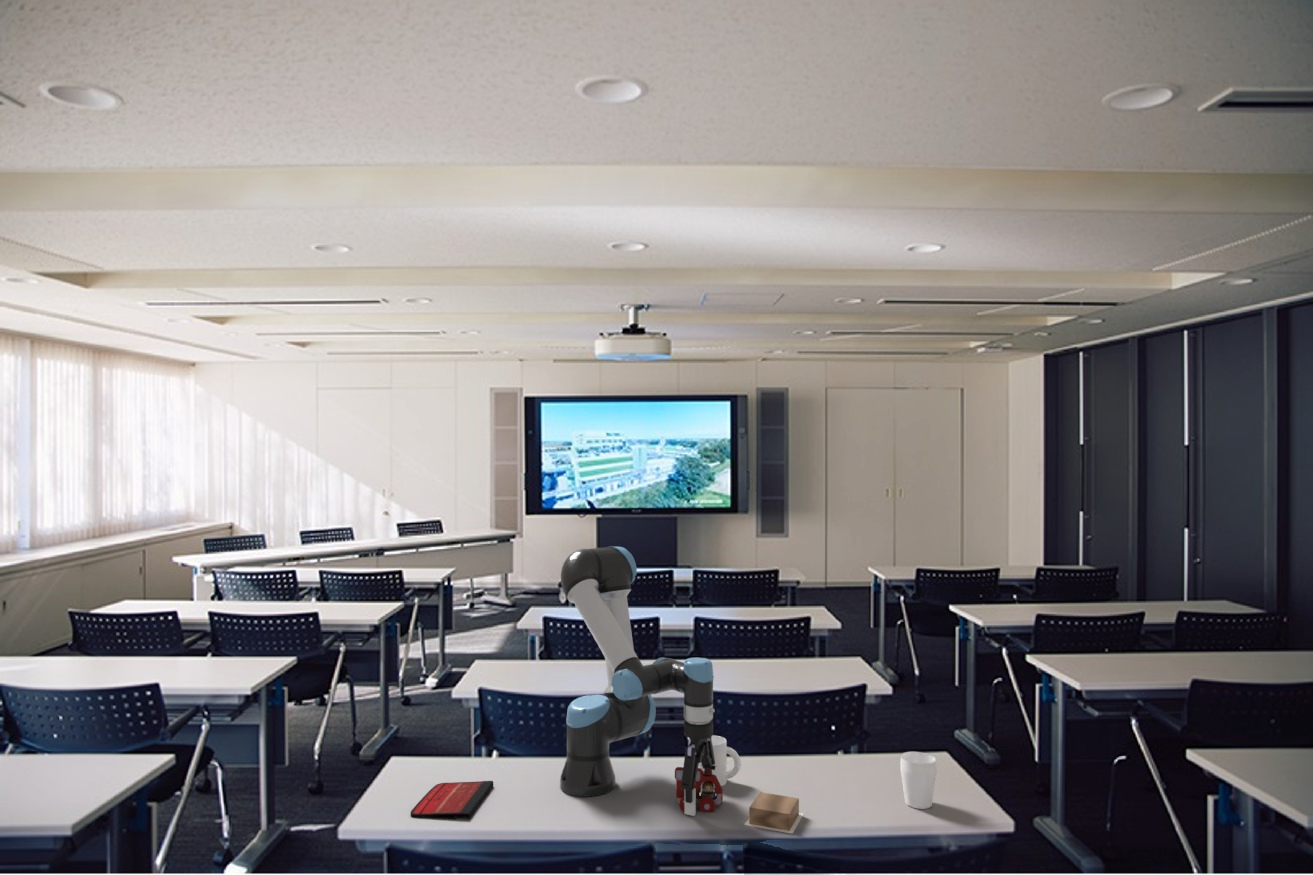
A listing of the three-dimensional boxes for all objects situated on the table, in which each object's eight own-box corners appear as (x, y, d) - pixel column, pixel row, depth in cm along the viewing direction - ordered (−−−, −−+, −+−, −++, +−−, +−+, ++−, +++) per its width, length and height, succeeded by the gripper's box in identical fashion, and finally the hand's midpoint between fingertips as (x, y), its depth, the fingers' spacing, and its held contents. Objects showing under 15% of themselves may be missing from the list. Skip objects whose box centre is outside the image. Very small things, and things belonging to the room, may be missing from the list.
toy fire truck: (722, 815, 209) (722, 774, 209) (673, 813, 211) (673, 771, 211) (723, 804, 216) (723, 764, 216) (675, 801, 217) (675, 761, 218)
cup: (936, 799, 219) (936, 753, 219) (936, 813, 211) (936, 765, 211) (901, 794, 222) (901, 749, 222) (899, 808, 214) (899, 761, 214)
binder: (493, 779, 227) (469, 812, 206) (493, 788, 227) (469, 822, 206) (436, 780, 229) (407, 812, 208) (437, 788, 229) (407, 822, 208)
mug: (740, 791, 224) (740, 746, 224) (696, 788, 226) (696, 744, 226) (741, 779, 232) (741, 736, 232) (699, 777, 234) (699, 734, 234)
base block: (749, 823, 203) (749, 807, 203) (760, 807, 212) (760, 791, 212) (789, 830, 199) (789, 814, 199) (798, 814, 208) (798, 798, 208)
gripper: (696, 736, 201) (696, 826, 201) (726, 708, 224) (726, 789, 223) (667, 732, 204) (667, 820, 204) (700, 705, 226) (700, 785, 226)
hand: (698, 804), depth 213 cm, fingers open, 12 cm apart
